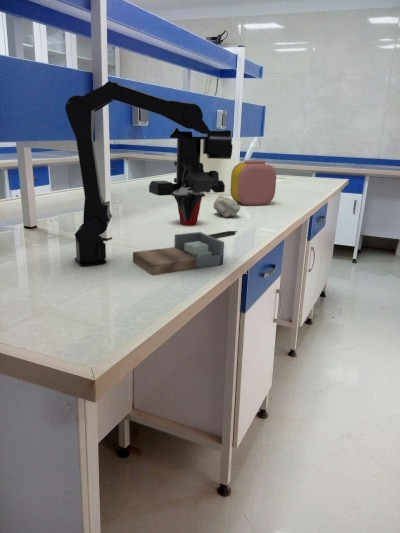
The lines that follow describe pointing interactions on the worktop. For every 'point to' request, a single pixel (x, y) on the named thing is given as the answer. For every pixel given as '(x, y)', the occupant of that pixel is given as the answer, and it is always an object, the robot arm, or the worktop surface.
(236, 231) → the knife
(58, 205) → the worktop surface
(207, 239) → the box
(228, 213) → the fossil replica
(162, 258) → the walnut ledge
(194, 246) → the tile
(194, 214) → the plastic cup
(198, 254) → the tile
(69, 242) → the worktop surface
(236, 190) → the alarm clock
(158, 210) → the worktop surface
